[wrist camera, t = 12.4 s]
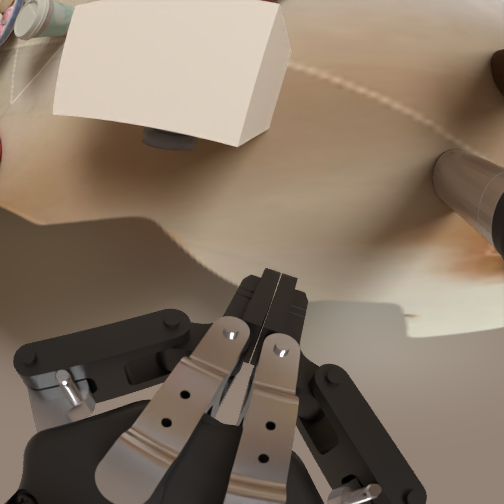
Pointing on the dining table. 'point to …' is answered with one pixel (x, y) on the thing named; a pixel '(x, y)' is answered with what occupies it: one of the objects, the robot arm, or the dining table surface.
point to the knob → (168, 139)
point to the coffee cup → (43, 19)
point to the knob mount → (176, 65)
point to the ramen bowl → (8, 17)
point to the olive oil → (498, 69)
